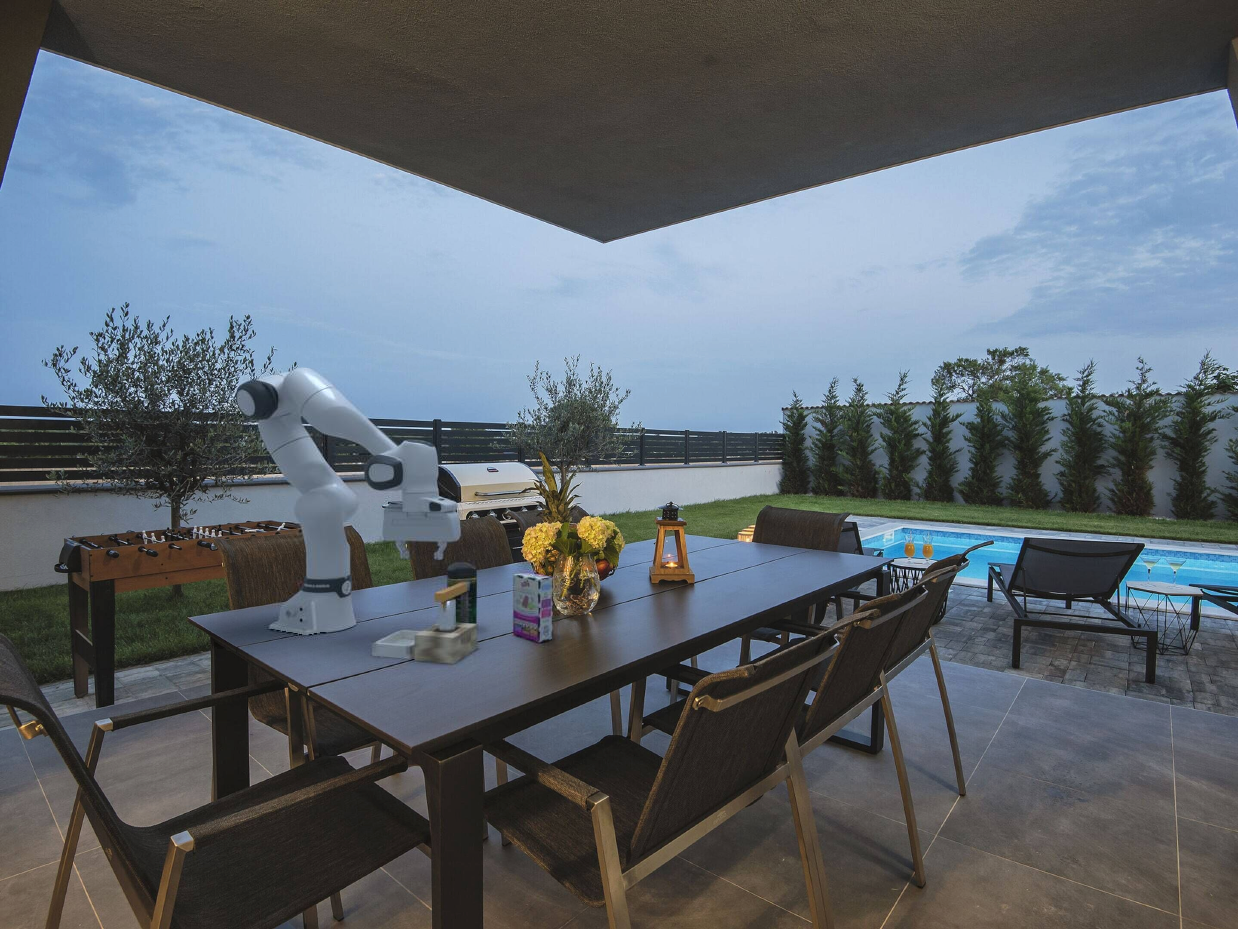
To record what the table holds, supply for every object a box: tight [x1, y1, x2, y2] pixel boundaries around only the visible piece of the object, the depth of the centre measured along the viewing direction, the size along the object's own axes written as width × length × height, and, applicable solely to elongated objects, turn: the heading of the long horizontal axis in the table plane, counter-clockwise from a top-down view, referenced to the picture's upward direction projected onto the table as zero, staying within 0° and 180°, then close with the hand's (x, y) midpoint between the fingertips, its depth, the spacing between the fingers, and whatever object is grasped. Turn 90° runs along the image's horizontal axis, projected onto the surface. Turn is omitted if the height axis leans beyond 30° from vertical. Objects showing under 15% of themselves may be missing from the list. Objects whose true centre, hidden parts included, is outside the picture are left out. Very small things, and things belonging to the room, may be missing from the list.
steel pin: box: [437, 598, 456, 633], centre depth 147 cm, size 4×4×13 cm
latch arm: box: [434, 582, 470, 603], centre depth 150 cm, size 2×14×2 cm, turn 167°
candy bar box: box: [512, 572, 554, 644], centre depth 161 cm, size 11×5×16 cm, turn 47°
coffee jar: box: [446, 561, 478, 625], centre depth 167 cm, size 10×8×19 cm
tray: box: [371, 629, 422, 660], centre depth 150 cm, size 10×12×3 cm
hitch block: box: [414, 591, 478, 665], centre depth 149 cm, size 10×17×13 cm, turn 167°
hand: (421, 558), depth 154 cm, fingers open, 8 cm apart
